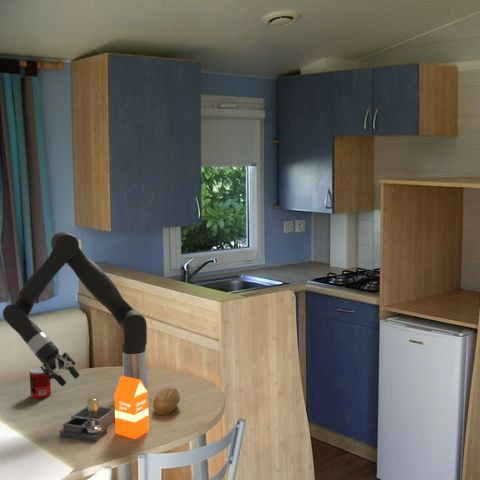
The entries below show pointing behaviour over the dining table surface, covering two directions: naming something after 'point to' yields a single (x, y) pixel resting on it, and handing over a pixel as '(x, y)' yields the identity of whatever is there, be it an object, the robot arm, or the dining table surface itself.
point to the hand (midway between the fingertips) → (71, 380)
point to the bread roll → (166, 401)
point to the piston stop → (93, 407)
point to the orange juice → (131, 408)
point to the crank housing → (82, 429)
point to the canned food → (39, 384)
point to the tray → (104, 415)
